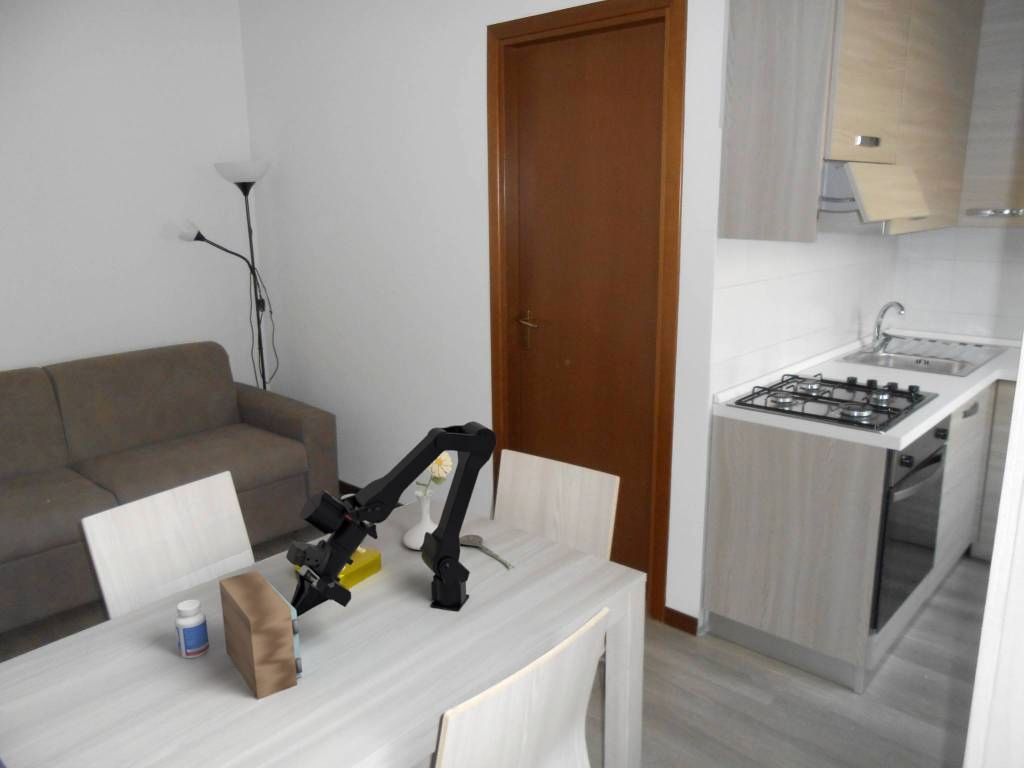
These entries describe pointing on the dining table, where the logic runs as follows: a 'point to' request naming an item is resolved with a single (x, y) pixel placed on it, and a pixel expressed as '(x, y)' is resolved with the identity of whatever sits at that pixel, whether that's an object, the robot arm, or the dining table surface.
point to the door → (294, 636)
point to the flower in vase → (427, 502)
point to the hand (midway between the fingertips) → (291, 615)
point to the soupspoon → (481, 546)
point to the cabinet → (258, 633)
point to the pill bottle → (191, 629)
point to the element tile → (359, 567)
